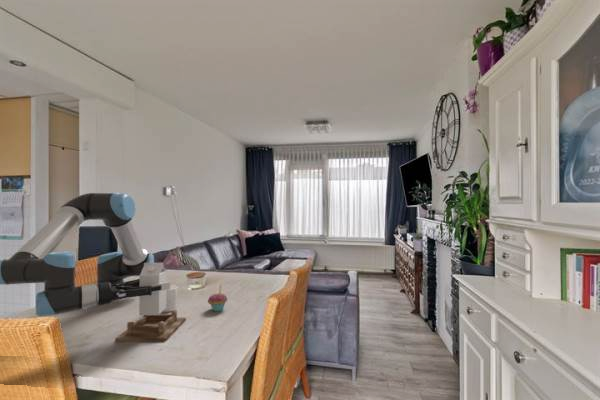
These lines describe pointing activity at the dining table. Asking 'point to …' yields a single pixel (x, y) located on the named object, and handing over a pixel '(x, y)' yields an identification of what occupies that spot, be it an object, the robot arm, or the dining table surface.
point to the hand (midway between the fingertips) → (165, 282)
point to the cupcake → (217, 301)
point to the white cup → (171, 298)
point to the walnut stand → (152, 328)
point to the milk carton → (157, 300)
